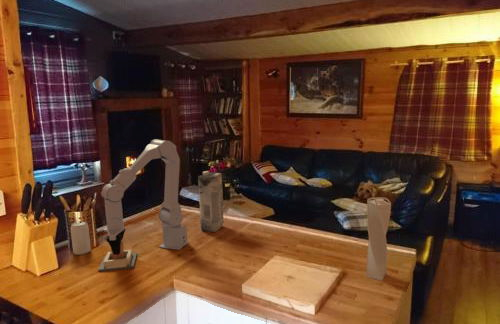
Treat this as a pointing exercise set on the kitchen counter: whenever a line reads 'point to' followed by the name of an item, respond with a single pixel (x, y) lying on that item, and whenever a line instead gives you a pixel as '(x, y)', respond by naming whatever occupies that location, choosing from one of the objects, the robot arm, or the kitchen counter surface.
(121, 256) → the tube
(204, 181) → the juice carton
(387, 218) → the skyscraper
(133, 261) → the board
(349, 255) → the kitchen counter surface
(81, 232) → the can
